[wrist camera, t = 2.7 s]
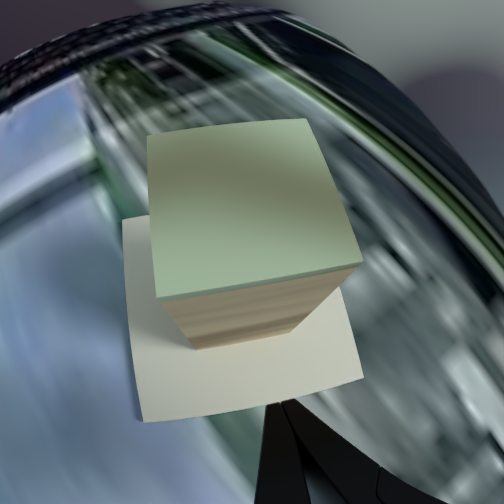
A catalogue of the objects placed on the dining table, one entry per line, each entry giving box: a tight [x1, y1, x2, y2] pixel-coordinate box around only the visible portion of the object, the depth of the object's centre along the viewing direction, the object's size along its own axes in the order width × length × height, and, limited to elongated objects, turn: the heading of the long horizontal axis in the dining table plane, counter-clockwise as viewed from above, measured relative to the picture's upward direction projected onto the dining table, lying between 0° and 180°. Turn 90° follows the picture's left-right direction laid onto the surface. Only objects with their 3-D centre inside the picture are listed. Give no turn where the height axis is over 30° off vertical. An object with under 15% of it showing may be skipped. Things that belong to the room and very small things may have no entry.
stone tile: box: [122, 215, 364, 423], centre depth 18 cm, size 12×12×1 cm
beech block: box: [147, 119, 363, 350], centre depth 13 cm, size 5×5×10 cm
